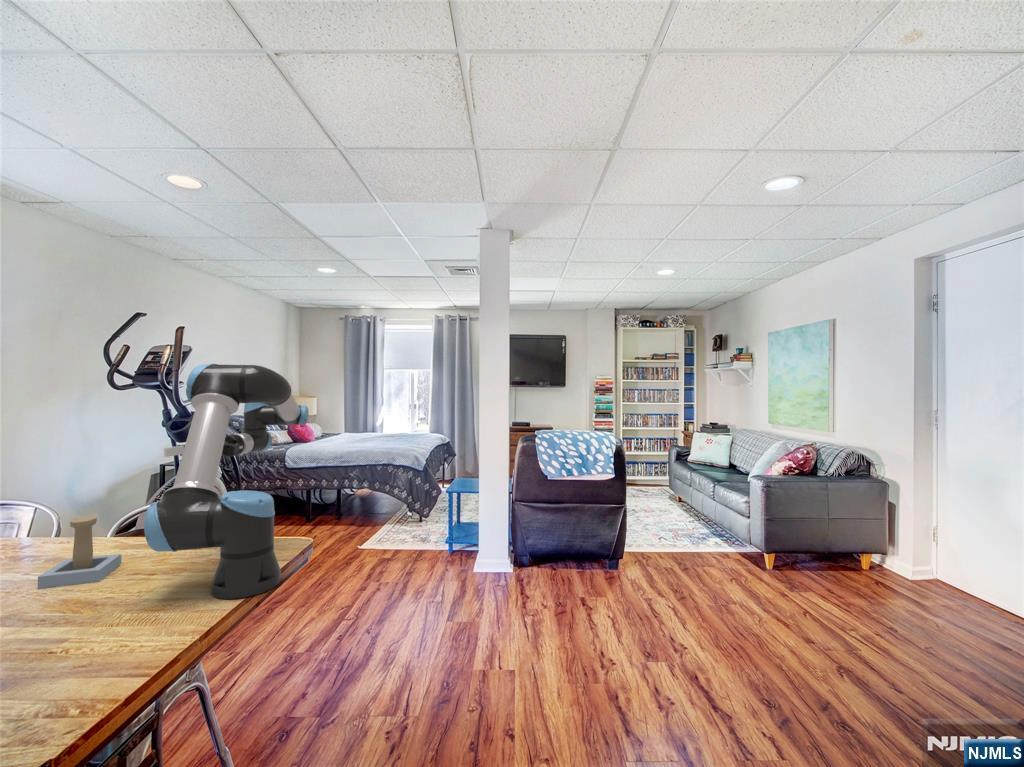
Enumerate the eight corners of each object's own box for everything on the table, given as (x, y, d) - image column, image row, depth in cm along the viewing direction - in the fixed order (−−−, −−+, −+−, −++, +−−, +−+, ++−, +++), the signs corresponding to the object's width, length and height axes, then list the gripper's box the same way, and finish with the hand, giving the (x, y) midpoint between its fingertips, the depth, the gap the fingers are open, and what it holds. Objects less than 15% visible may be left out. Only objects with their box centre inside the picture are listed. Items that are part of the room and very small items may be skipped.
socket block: (99, 581, 113) (99, 569, 113) (37, 589, 108) (37, 576, 108) (121, 564, 124) (121, 553, 124) (66, 570, 120) (66, 559, 120)
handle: (66, 582, 112) (67, 523, 113) (72, 573, 118) (74, 517, 118) (92, 577, 115) (93, 520, 115) (97, 569, 120) (98, 514, 121)
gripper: (267, 456, 155) (221, 466, 134) (203, 454, 158) (148, 464, 137) (268, 434, 155) (221, 441, 134) (204, 433, 158) (149, 440, 137)
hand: (184, 452), depth 136 cm, fingers open, 13 cm apart
